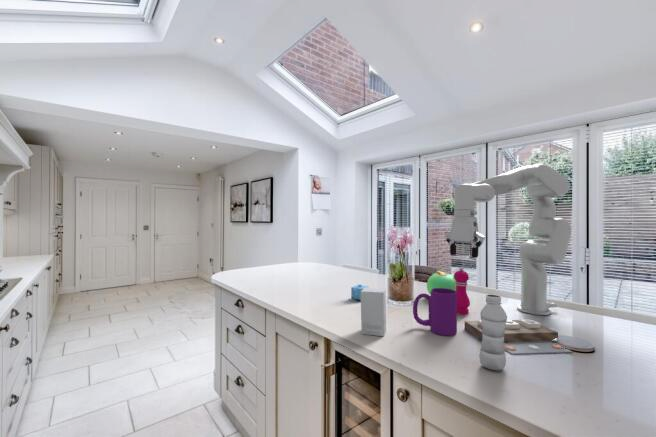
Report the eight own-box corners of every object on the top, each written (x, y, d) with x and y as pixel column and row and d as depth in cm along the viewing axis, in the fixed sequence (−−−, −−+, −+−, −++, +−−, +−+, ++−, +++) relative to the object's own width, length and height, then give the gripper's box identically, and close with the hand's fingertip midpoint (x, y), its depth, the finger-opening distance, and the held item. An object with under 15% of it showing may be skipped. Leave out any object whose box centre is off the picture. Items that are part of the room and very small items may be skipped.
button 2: (531, 327, 114) (531, 319, 114) (540, 332, 110) (540, 323, 110) (519, 327, 114) (520, 319, 114) (528, 332, 109) (528, 323, 109)
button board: (529, 327, 118) (529, 319, 118) (557, 341, 106) (557, 332, 106) (464, 328, 116) (464, 320, 116) (484, 343, 103) (485, 334, 103)
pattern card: (554, 343, 103) (554, 341, 103) (572, 352, 96) (572, 350, 96) (497, 345, 102) (497, 343, 102) (511, 354, 95) (511, 352, 95)
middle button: (510, 328, 113) (510, 319, 113) (519, 332, 109) (519, 323, 109) (499, 328, 113) (499, 319, 113) (507, 332, 108) (507, 323, 108)
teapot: (358, 303, 149) (359, 288, 149) (347, 301, 152) (348, 286, 152) (369, 298, 159) (369, 283, 159) (359, 296, 163) (359, 282, 162)
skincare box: (386, 331, 114) (387, 288, 113) (383, 337, 107) (384, 292, 107) (364, 328, 116) (364, 286, 116) (360, 334, 110) (360, 290, 110)
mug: (455, 338, 107) (456, 295, 107) (410, 330, 114) (410, 289, 114) (457, 329, 115) (458, 289, 115) (415, 323, 122) (415, 285, 122)
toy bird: (424, 295, 167) (424, 267, 167) (456, 296, 164) (457, 268, 164) (430, 304, 149) (430, 273, 149) (467, 306, 146) (467, 275, 146)
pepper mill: (466, 310, 140) (467, 266, 140) (472, 315, 132) (472, 268, 132) (449, 309, 140) (450, 265, 140) (454, 314, 133) (455, 268, 133)
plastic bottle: (474, 362, 89) (475, 293, 89) (496, 362, 90) (497, 293, 90) (487, 374, 83) (488, 299, 83) (511, 373, 83) (512, 298, 83)
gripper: (489, 214, 122) (489, 257, 122) (451, 214, 137) (450, 253, 137) (479, 214, 118) (478, 259, 118) (440, 214, 133) (439, 254, 133)
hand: (463, 256), depth 127 cm, fingers open, 9 cm apart
